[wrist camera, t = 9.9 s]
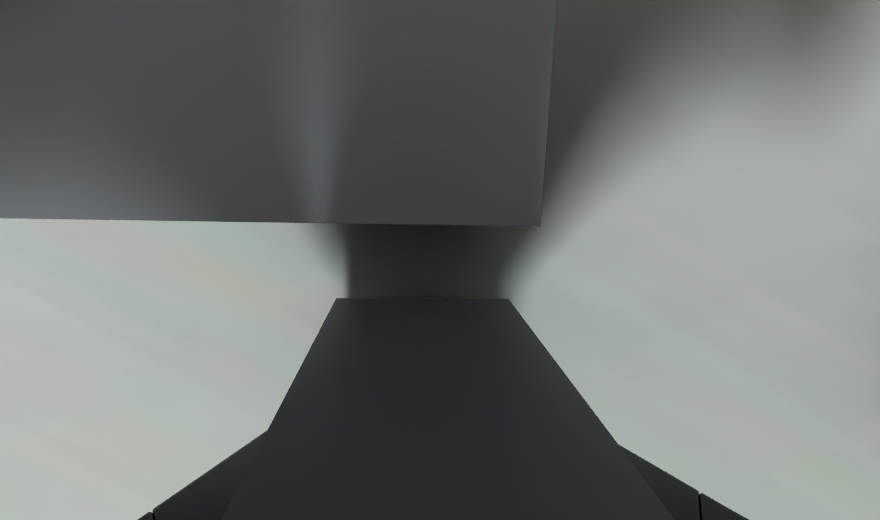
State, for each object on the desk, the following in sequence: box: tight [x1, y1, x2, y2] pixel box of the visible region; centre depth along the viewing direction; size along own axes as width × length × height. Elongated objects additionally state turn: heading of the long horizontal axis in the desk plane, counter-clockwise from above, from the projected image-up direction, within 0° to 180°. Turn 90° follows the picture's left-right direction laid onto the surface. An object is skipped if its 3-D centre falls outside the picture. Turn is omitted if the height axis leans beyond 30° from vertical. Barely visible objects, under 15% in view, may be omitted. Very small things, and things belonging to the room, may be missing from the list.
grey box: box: [221, 298, 675, 520], centre depth 7 cm, size 4×4×9 cm
